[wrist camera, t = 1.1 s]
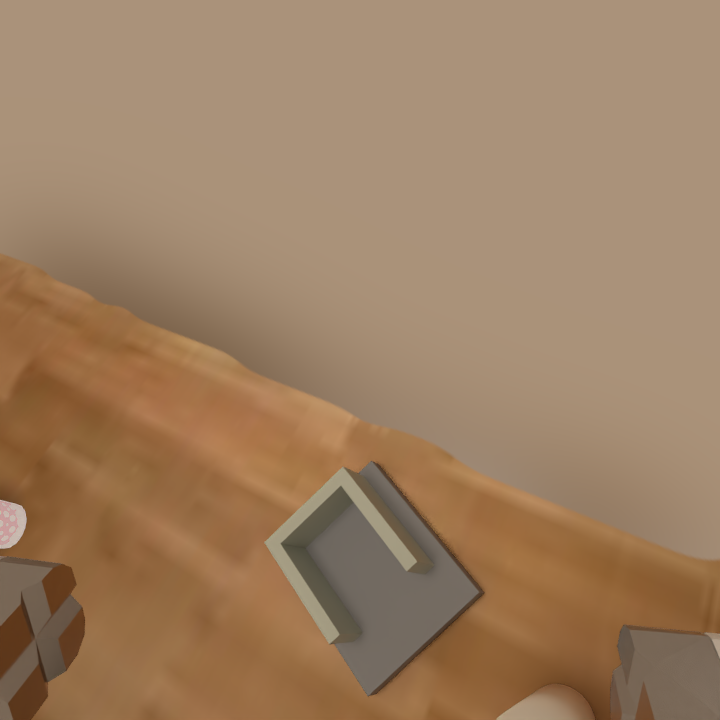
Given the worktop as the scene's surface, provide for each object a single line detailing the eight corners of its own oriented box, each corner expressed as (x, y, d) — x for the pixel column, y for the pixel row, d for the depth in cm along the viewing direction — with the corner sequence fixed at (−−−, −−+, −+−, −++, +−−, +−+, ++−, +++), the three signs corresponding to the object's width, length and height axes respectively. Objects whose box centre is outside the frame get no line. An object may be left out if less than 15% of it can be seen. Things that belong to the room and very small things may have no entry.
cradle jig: (378, 464, 53) (351, 450, 48) (484, 592, 46) (464, 590, 42) (284, 554, 54) (249, 548, 49) (375, 694, 47) (344, 703, 42)
